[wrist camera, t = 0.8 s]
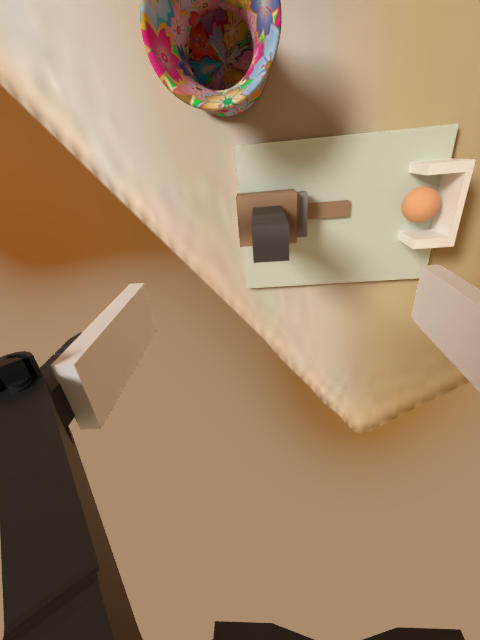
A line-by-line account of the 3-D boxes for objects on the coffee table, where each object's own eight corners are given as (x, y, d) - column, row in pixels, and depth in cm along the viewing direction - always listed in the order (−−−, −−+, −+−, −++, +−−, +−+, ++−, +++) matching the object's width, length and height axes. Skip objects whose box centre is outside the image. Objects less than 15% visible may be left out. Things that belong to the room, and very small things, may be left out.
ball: (450, 187, 29) (435, 183, 32) (411, 189, 30) (399, 186, 33) (442, 224, 31) (428, 217, 34) (405, 226, 31) (394, 219, 34)
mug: (291, 79, 29) (307, 45, 20) (215, 142, 32) (198, 139, 23) (217, -72, 25) (194, -203, 16) (137, 18, 28) (76, -49, 19)
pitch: (235, 146, 32) (234, 145, 31) (453, 124, 31) (462, 123, 29) (246, 285, 40) (245, 290, 39) (421, 275, 38) (427, 279, 37)
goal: (410, 162, 31) (429, 163, 28) (451, 158, 31) (475, 159, 28) (397, 239, 35) (413, 249, 32) (433, 237, 35) (453, 246, 31)
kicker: (237, 193, 33) (228, 213, 22) (305, 187, 32) (328, 205, 22) (241, 239, 35) (234, 277, 25) (304, 235, 35) (324, 271, 24)
